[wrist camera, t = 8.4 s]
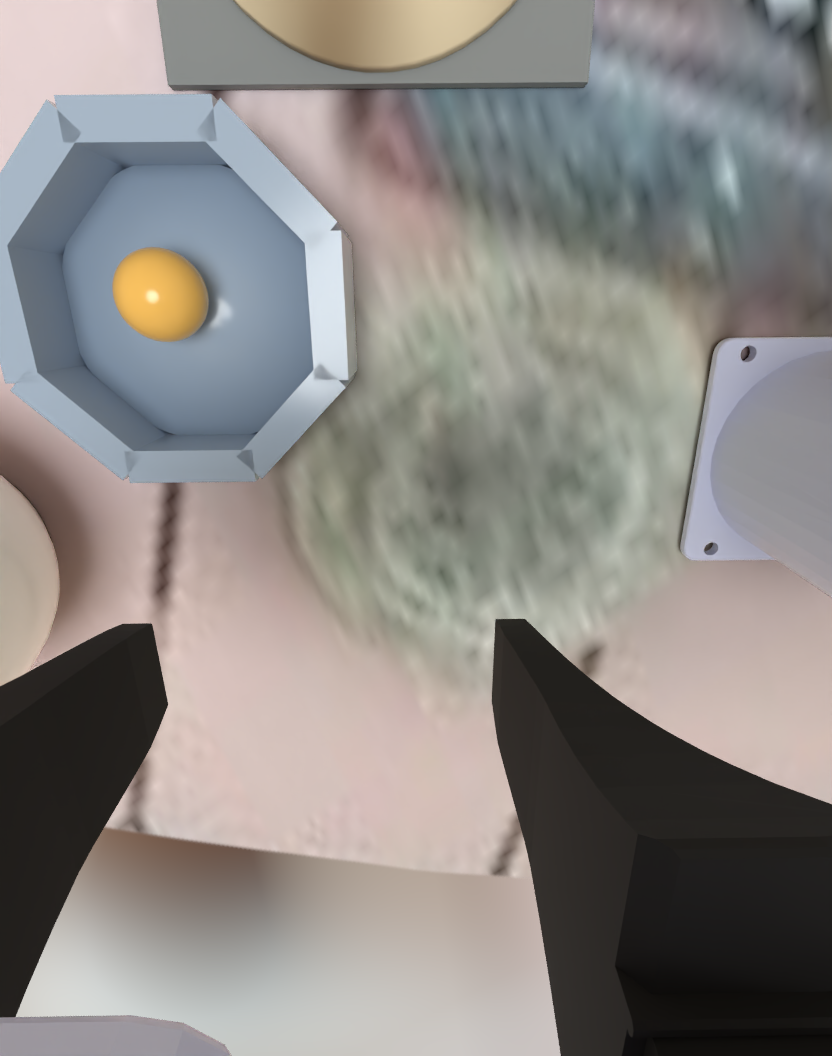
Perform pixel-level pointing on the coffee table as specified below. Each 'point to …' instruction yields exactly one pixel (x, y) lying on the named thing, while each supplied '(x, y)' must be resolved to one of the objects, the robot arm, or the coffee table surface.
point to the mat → (488, 62)
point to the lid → (375, 29)
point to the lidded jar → (24, 583)
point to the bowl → (169, 288)
